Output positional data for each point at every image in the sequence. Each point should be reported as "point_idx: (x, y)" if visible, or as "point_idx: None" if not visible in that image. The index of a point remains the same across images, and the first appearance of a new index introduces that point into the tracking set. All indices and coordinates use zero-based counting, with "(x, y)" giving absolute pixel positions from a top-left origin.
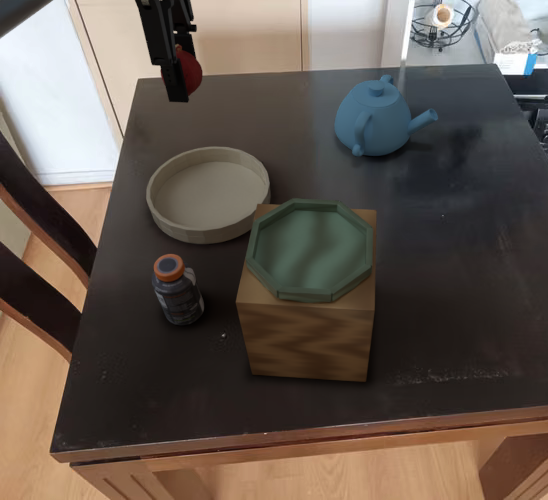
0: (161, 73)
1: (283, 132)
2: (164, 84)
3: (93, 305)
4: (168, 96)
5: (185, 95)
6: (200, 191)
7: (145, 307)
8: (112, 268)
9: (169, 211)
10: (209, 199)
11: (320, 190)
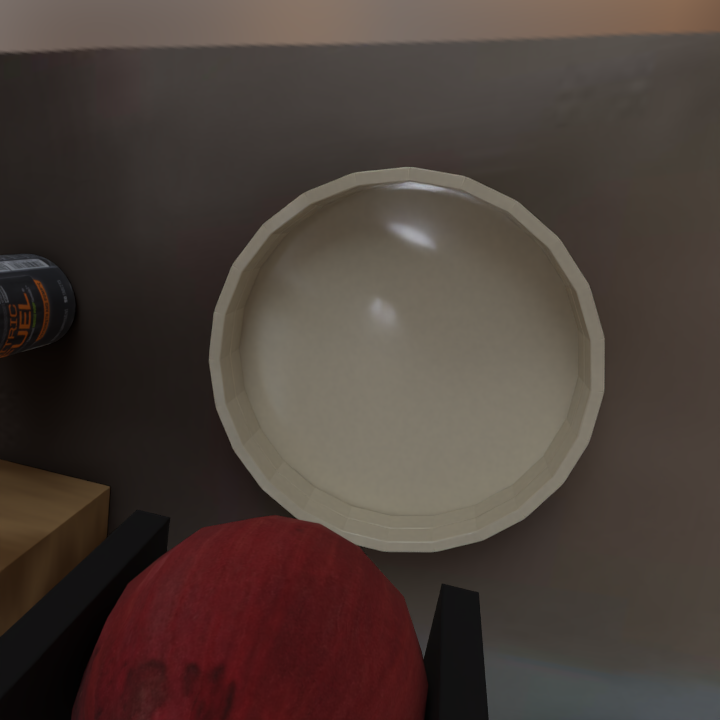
0: (174, 579)
1: (697, 594)
2: (197, 531)
3: (43, 61)
4: (114, 534)
5: None
6: (436, 328)
7: (41, 202)
8: (158, 90)
9: (358, 236)
10: (397, 355)
11: None
